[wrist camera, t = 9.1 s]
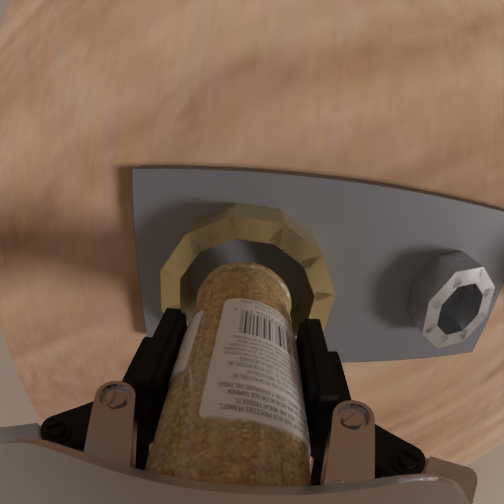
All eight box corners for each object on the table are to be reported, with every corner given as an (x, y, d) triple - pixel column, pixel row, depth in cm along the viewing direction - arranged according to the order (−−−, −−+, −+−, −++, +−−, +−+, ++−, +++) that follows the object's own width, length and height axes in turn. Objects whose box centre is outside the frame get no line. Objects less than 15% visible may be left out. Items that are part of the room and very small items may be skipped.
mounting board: (509, 211, 16) (522, 216, 14) (464, 341, 20) (472, 351, 19) (142, 165, 16) (132, 168, 14) (155, 335, 20) (149, 348, 19)
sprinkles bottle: (180, 289, 14) (67, 577, 2) (256, 239, 13) (231, 644, 1) (236, 350, 16) (208, 606, 3) (309, 310, 14) (358, 606, 2)
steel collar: (482, 281, 16) (501, 298, 14) (432, 336, 18) (446, 357, 16) (451, 235, 15) (473, 250, 13) (393, 299, 17) (408, 322, 14)
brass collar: (353, 268, 16) (366, 290, 14) (260, 359, 19) (259, 386, 16) (231, 171, 14) (225, 179, 12) (149, 288, 17) (134, 310, 15)
